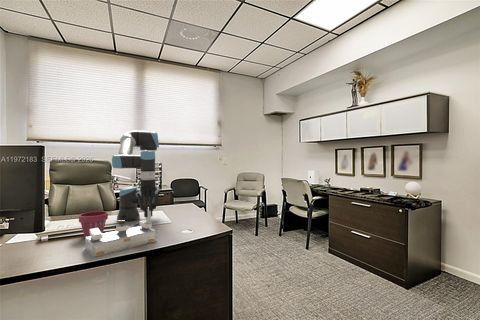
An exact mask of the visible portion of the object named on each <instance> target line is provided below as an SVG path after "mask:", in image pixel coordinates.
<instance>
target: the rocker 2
mask: <svg viewBox="0 0 480 320" xmlns="http://www.w3.org/2000/svg"><path fill="white" fill-rule="evenodd" d="M124 230H129V225H128V224H126V225H121V226H119V227H116V228H115V231H116V232H117V231H124Z"/></svg>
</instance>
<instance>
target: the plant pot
mask: <svg viewBox="0 0 480 320" xmlns="http://www.w3.org/2000/svg"><path fill="white" fill-rule="evenodd" d="M108 219H109V212H108V211H105V210H96V211H87V212H83V213H80V214H78V222H79V224H80V225H81V230H82V232H83V237H84V238H85V237H87V236H91V235H90V233H89V232H90V229H94V228H99V230H100V232H101V233H104V231H105V226H106V222H107V220H108Z"/></svg>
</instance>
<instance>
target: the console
mask: <svg viewBox="0 0 480 320" xmlns="http://www.w3.org/2000/svg"><path fill="white" fill-rule="evenodd" d="M84 238H85V239H84V241H85V242H84V244H85V245H84V247H85V250H86V252H87V253H88V254H89V256H90V257H91V258H96V257H97V258H98V257H100V256H104V255H108V253H109V254H112V252H113V253H115V252H120V251H124V250H129V249H131V248H134V247H135V248H136V247H140V246H143V245H147V244H151V243H155V242H157V229H156V228H153V227H152V228H151V227H150V228H144V227H142V226H137V227H132V228H129V230H124V231H117V232H116V230H113V231H107V232H103V233H102V239H97V240H93V239H92V237H91V236H87V237H84Z"/></svg>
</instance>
